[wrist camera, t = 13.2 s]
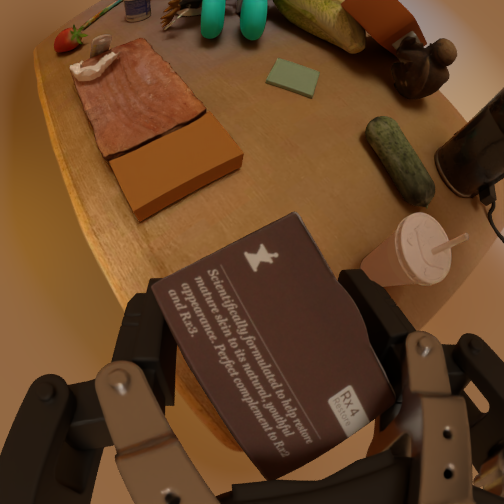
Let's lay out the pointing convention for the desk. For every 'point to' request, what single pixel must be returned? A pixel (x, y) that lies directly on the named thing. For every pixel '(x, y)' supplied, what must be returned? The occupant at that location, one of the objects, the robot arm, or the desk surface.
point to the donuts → (249, 19)
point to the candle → (190, 11)
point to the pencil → (100, 14)
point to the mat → (293, 77)
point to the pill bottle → (137, 10)
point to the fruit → (68, 39)
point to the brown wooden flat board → (154, 129)
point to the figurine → (179, 8)
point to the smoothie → (412, 253)
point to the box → (276, 346)
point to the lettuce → (325, 22)
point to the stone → (239, 5)
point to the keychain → (100, 44)
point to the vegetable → (400, 161)
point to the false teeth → (92, 68)
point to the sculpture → (422, 67)
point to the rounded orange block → (385, 21)
